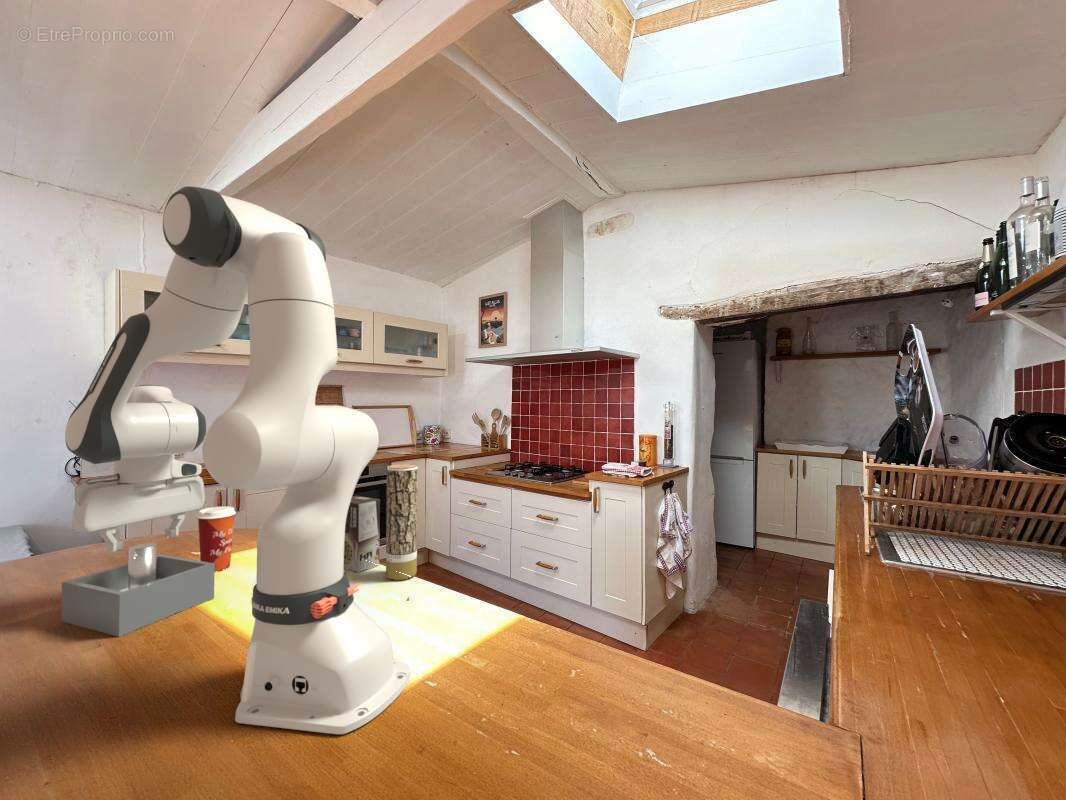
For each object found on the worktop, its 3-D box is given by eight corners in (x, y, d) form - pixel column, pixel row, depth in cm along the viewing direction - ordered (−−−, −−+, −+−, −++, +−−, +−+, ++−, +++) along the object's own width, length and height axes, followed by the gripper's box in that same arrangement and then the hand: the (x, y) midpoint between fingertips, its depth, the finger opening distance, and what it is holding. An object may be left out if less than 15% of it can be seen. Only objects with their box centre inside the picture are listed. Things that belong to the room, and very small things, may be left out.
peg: (160, 606, 87) (161, 543, 87) (136, 615, 83) (137, 550, 83) (146, 603, 88) (147, 541, 88) (122, 612, 84) (123, 547, 85)
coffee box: (380, 565, 110) (381, 499, 110) (357, 573, 105) (358, 503, 105) (356, 558, 115) (357, 494, 115) (333, 565, 109) (334, 499, 110)
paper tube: (408, 582, 99) (409, 468, 100) (379, 580, 101) (381, 467, 101) (421, 571, 106) (422, 465, 106) (395, 569, 107) (396, 464, 108)
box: (214, 598, 91) (214, 563, 91) (119, 636, 76) (119, 594, 76) (160, 587, 96) (160, 554, 96) (61, 621, 81) (61, 582, 81)
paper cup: (220, 574, 103) (221, 513, 103) (187, 574, 103) (188, 512, 104) (242, 562, 111) (243, 505, 111) (211, 562, 111) (212, 505, 111)
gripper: (86, 479, 75) (86, 563, 75) (209, 464, 94) (209, 531, 94) (63, 478, 77) (63, 559, 77) (188, 464, 97) (188, 529, 96)
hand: (144, 543), depth 86 cm, fingers open, 8 cm apart
